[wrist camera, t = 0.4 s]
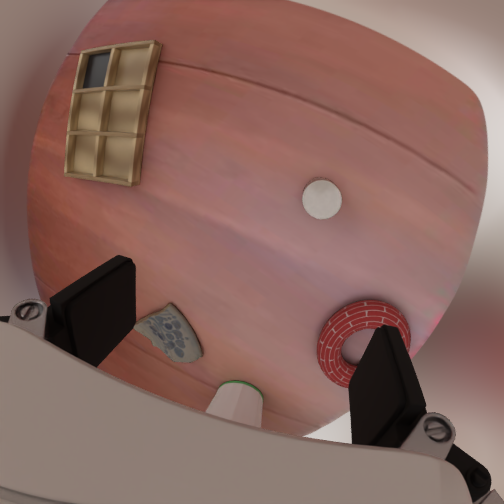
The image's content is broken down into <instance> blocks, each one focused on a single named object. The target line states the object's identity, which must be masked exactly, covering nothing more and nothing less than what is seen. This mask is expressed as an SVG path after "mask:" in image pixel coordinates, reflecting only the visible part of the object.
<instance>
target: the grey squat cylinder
mask: <svg viewBox="0 0 504 504" xmlns="http://www.w3.org/2000/svg"><path fill="white" fill-rule="evenodd" d="M302 202H303V206H304V208H305V210H306V212H307V213H308V214H309V215H311V216H312V217H314V218H317V219H328V218H331V217H333V216H334V215H335V214H336V213H337V212H338V211H339V209H340V207H341V204H342V196H341V193H340V191H339V189H338V188H337V186H336V185H335V184H334V183H333V182H332V181H331V180H329V179H327V178H322V177H320V178H315V179H312V180H311V181H309V182H308V183H307V184H306V186H305V188H304V190H303V197H302Z"/></svg>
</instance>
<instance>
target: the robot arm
mask: <svg viewBox="0 0 504 504" xmlns="http://www.w3.org/2000/svg"><path fill="white" fill-rule="evenodd" d="M50 304H51V305H50V306H49V307H47V305H46V304H45V303H44V302H43V301H41V300H38V299H27V300H23V301H21V302H19V303H17V304H16V305H15V306H14V307H13V309H12V311H11V315H10V316H0V504H504V501H503V500H502V498H501V497H500V496H499V494H498V493H497V492H496V490H495V489H494V490H492V491H490V487H491V476H490V473H489V472H488V470H487V469H486V468H485V467H484V466H483V465H482V464H480V463H479V462H478V461H476V460H475V459H473V458H472V457H471V456H469V455H468V454H467V453H465V452H464V451H463V450H461V449H460V448H459V447H457V446H456V445H455V444H453V442H454V440H455V436H456V433H455V428H454V426H453V424H452V423H451V422H450V420H449V419H448V418H446V417H445V416H443V415H441V414H439V413H435V412H432V413H427V411H426V408H425V407H426V402H425V399H424V396H423V393H422V390H421V387H420V384H419V381H418V379H417V376H416V373H415V370H414V367H413V365H412V362H411V359H410V357H409V354H408V351H407V349H406V346H405V344H404V341H403V339H402V336H401V334H400V331H399V329H398V327H394V326H389V325H385V324H384V325H382V326H381V328H380V327H377V328H376V330H375V332H374V334H373V336H372V338H371V340H370V342H369V344H368V346H367V348H366V350H365V352H364V354H363V356H362V358H361V360H360V362H359V364H358V366H357V368H356V370H355V372H354V373H353V375H352V377H351V379H350V382H349V386H348V389H349V402H350V414H351V415H350V416H351V433H352V444H348V443H340V442H333V441H327V440H320V439H312V438H307V437H302V436H296V435H291V434H286V433H281V432H276V431H272V430H267V429H263V428H259V427H255V426H251V425H247V424H243V423H239V422H236V421H232V420H228V419H225V418H222V417H218V416H215V415H212V414H209V413H205V412H202V411H199V410H196V409H193V408H190V407H187V406H185V405H182V404H179V403H176V402H174V401H171V400H168V399H166V398H163V397H161V396H158V395H156V394H153V393H151V392H148V391H146V390H143V389H141V388H139V387H136V386H134V385H132V384H129V383H127V382H125V381H123V380H121V379H118V378H116V377H114V376H112V375H110V374H108V373H106V372H104V371H102V370H100V369H98V368H97V366H98V365H99V364H100V363H101V362H102V361H103V360H104V359H105V358H106V357H107V356H108V354H109V353H110V352H111V351H112V350H113V349H114V348H115V347H116V346H117V345H118V344H119V343H120V342H121V341H122V339H123V338H124V337H125V336H126V335H127V334H128V333H129V332H130V331H131V330H132V329H133V328H134V326H135V323H136V266H135V264H134V263H133V261H132V259H130V258H127V257H124V256H121V255H117V256H115V257H114V258H112V259H110V260H109V261H107V262H105V263H104V264H102V265H101V266H99V267H97V268H96V269H94V270H93V271H91V272H89V273H88V274H86V275H85V276H83V277H81V278H80V279H78V280H77V281H75V282H74V283H72V284H71V285H69V286H67V287H66V288H64V289H63V290H61V291H60V292H58V293H57V294H55V295H54V296H52V297H51V298H50Z"/></svg>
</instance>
